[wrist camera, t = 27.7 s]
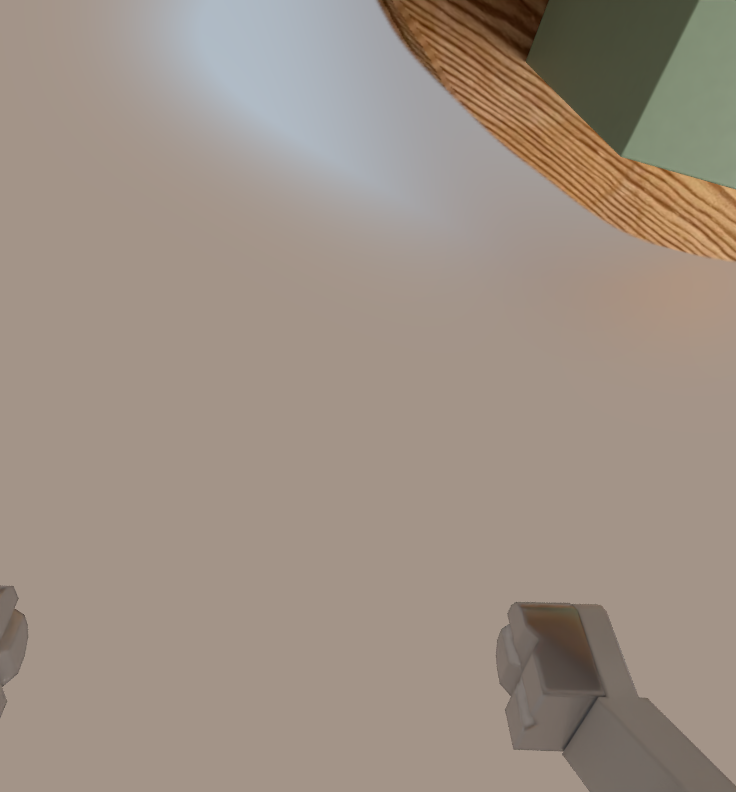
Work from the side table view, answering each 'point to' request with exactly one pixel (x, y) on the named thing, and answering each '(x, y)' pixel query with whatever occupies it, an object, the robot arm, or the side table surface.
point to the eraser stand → (648, 78)
